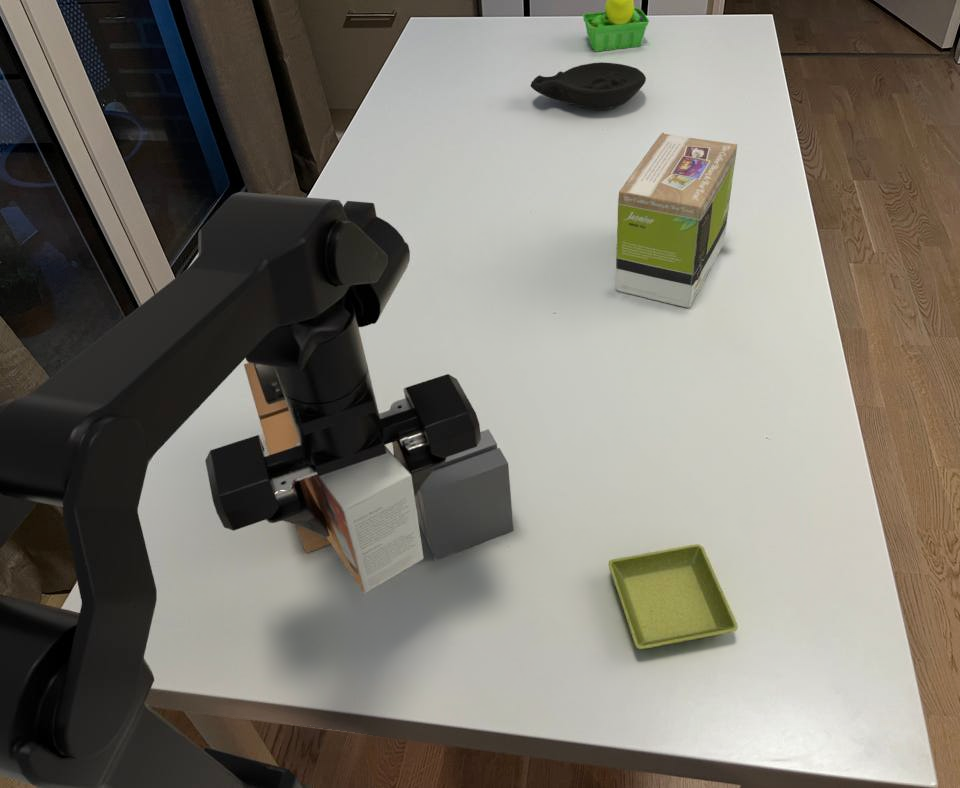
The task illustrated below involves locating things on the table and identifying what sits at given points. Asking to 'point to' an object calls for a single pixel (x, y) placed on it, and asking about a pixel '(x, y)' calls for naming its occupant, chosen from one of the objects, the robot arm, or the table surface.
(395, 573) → the small box
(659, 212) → the tea box
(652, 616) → the green square tray
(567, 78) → the oil lamp
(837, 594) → the table surface
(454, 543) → the grey grooved block
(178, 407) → the robot arm
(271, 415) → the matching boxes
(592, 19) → the fruit basket
